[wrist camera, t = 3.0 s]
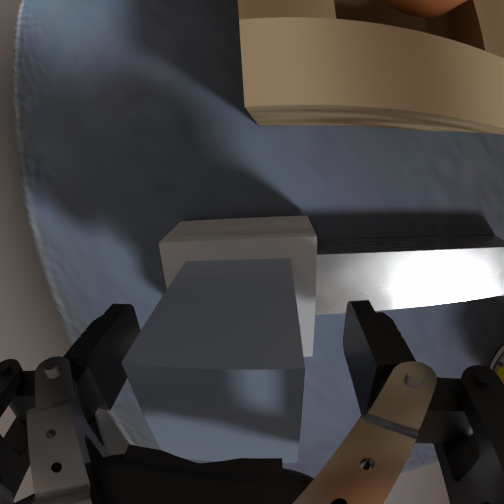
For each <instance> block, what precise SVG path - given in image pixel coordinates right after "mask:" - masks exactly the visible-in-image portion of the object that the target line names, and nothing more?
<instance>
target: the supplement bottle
mask: <svg viewBox="0 0 504 504" xmlns="http://www.w3.org/2000/svg"><path fill="white" fill-rule="evenodd" d="M490 369H492V370H493V371H495V372H496V373H497V374H498V376H499V377H500V379H501V380H502V382H503V384H504V345H503V346H502V347H501V348H500V349H499V351H498V352H497V354H496V355H495V357H494V359H493V361H492V363H491V365H490Z"/></svg>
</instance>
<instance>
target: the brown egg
mask: <svg viewBox="0 0 504 504" xmlns="http://www.w3.org/2000/svg"><path fill="white" fill-rule="evenodd" d="M379 1H381V2H382V3H384V4H386V5H387V6H389V7H391V8H393V9H395V10H397V11H399V12H402V13H405V14H408V15H411V16H415V17H421V18H434V17H438V16H441V15H443V14H445V13H446V12H448V11H450V10H451V9H453V8H455V7H456V6H458V5H460V4H462V3H463V2H465V1H467V0H379Z"/></svg>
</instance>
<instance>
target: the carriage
mask: <svg viewBox="0 0 504 504" xmlns="http://www.w3.org/2000/svg"><path fill="white" fill-rule="evenodd" d="M159 249H160V255H161V261H162V266H163V272H164V277H165V283H166V288H167V290H166V292H165V293H164V295H163V297H162V298H161V300H160V301H159V303H158V304H157V306H156V307H155V309H154V311H153V312H152V314H151V315H150V317H149V318H148V320H147V322H146V323H145V325H144V326H143V328H142V330H141V331H140V333H139V335H138V336H137V338H136V339H135V341H134V343H133V344H132V346H131V348H130V349H129V351H128V353H127V354H126V356H125V357H124V359H123V361H122V365H123V367H124V370H125V372H126V375H127V377H128V380H129V382H130V385H131V387H132V389H133V392H134V394H135V396H136V399H137V401H138V403H139V406H140V408H141V410H142V412H143V414H144V416H145V419H146V421H147V423H148V425H149V427H150V429H151V431H152V433H153V435H154V437H155V439H156V441H157V443H158V445H159V447H160V449H161V450H162V451H165V452H168V453H170V454H173V455H175V456H178V457H181V458H186V459H194V460H204V461H216V462H218V461H225V460H232V459H238V458H282V463H297V459H298V449H299V439H300V428H301V417H302V404H303V390H304V375H305V365H304V357H312V355H313V340H314V322H315V300H316V268H317V236H316V233H315V231H314V229H313V227H312V225H311V223H310V220H309V218H308V216H279V217H254V218H232V219H213V220H195V221H181V222H180V223H179V224H178V225H177V226H176V227H174V228H173V229H172V230H171V231H170V232H169V233H168V234H167V235H166V236H165V237H164V238H163V239H162V240H161V241H160V242H159Z"/></svg>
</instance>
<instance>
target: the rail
mask: <svg viewBox="0 0 504 504" xmlns="http://www.w3.org/2000/svg"><path fill="white" fill-rule="evenodd" d="M503 294H504V240H503V239H501V238H499V237H497V236H496V235H489V236H437V237H395V238H359V239H326V240H317V268H316V300H315V315H321V314H338V313H346V308H347V303H348V301H357V300H369V301H370V303H371V305H372V307H373V308H374V310H375V311H379V310H390V309H400V308H410V307H420V306H429V305H437V304H445V303H453V302H461V301H468V300H475V299H481V298H488V297H494V296H500V295H503Z"/></svg>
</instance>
